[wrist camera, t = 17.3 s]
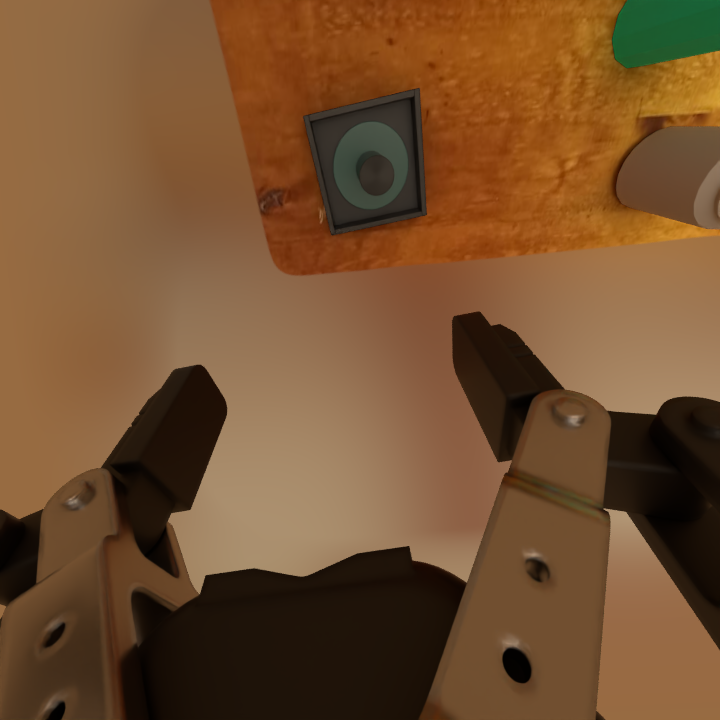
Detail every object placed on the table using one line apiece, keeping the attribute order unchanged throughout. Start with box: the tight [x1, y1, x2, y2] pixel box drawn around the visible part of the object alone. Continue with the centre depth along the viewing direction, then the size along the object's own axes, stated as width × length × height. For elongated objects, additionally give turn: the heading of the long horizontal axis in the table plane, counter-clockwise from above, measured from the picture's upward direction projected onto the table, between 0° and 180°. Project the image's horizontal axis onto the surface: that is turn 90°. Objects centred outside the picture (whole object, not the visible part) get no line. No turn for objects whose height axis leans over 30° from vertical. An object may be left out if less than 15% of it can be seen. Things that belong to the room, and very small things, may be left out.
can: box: [616, 127, 720, 229], centre depth 29 cm, size 8×8×12 cm
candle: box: [612, 0, 720, 68], centre depth 23 cm, size 6×6×12 cm
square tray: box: [303, 88, 427, 235], centre depth 32 cm, size 10×10×2 cm
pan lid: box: [333, 121, 409, 210], centre depth 29 cm, size 8×8×7 cm
